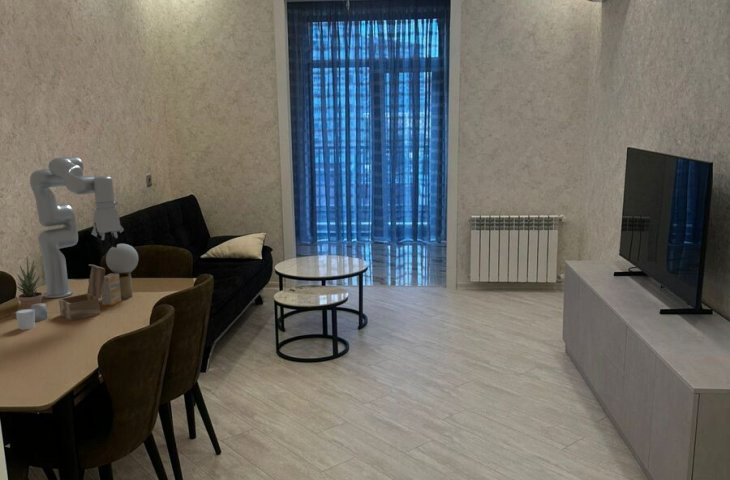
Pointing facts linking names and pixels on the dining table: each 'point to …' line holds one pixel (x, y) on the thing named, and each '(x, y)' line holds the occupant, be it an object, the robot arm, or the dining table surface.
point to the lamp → (123, 266)
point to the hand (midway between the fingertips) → (109, 247)
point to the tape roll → (40, 311)
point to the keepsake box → (79, 306)
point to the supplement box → (111, 289)
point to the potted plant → (29, 289)
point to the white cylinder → (26, 318)
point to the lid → (96, 281)
